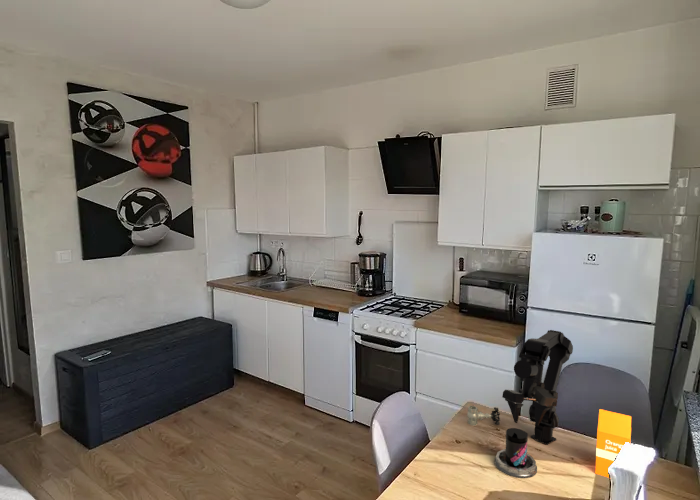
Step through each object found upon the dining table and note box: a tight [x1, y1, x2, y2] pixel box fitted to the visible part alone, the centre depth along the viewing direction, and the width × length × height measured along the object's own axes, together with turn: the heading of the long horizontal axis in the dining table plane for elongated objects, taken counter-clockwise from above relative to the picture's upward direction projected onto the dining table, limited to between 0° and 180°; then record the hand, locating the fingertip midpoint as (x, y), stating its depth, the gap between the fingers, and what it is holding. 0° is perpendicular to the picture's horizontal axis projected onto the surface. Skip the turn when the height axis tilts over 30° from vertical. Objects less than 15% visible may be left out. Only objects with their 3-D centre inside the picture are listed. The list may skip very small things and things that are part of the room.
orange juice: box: [594, 408, 632, 479], centre depth 135 cm, size 8×9×20 cm
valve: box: [466, 405, 502, 426], centre depth 167 cm, size 7×7×12 cm
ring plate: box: [494, 448, 538, 479], centre depth 139 cm, size 13×13×2 cm
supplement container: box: [505, 427, 529, 469], centre depth 139 cm, size 7×7×10 cm
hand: (526, 423), depth 143 cm, fingers open, 9 cm apart
